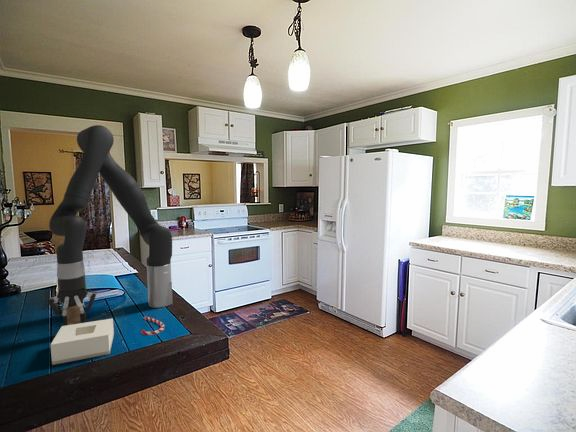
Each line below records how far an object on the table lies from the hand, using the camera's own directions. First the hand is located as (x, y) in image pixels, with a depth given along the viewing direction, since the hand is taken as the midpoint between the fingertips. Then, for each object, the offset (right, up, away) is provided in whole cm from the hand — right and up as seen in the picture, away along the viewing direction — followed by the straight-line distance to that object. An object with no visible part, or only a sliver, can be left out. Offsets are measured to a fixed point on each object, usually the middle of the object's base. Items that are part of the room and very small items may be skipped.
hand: (75, 324), depth 104 cm
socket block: (+10, -4, -9) cm, 14 cm away
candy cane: (+23, -3, +6) cm, 24 cm away
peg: (0, -3, 0) cm, 3 cm away
